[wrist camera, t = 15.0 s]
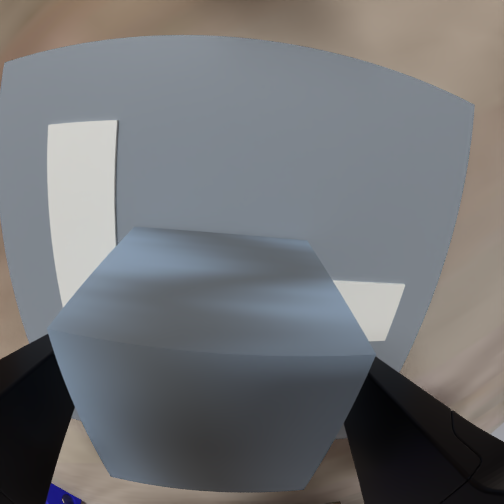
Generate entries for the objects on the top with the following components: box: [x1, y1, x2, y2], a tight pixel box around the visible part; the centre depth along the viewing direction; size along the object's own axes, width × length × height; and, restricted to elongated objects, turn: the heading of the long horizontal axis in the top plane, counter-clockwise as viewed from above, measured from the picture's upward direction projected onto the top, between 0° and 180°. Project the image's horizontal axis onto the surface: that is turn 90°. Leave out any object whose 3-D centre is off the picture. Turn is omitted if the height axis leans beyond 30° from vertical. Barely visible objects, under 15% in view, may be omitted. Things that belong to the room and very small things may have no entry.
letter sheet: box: [0, 35, 475, 439], centre depth 10 cm, size 16×16×1 cm
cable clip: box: [46, 483, 81, 504], centre depth 14 cm, size 12×4×6 cm, turn 38°
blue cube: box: [47, 227, 376, 492], centre depth 7 cm, size 5×5×5 cm
